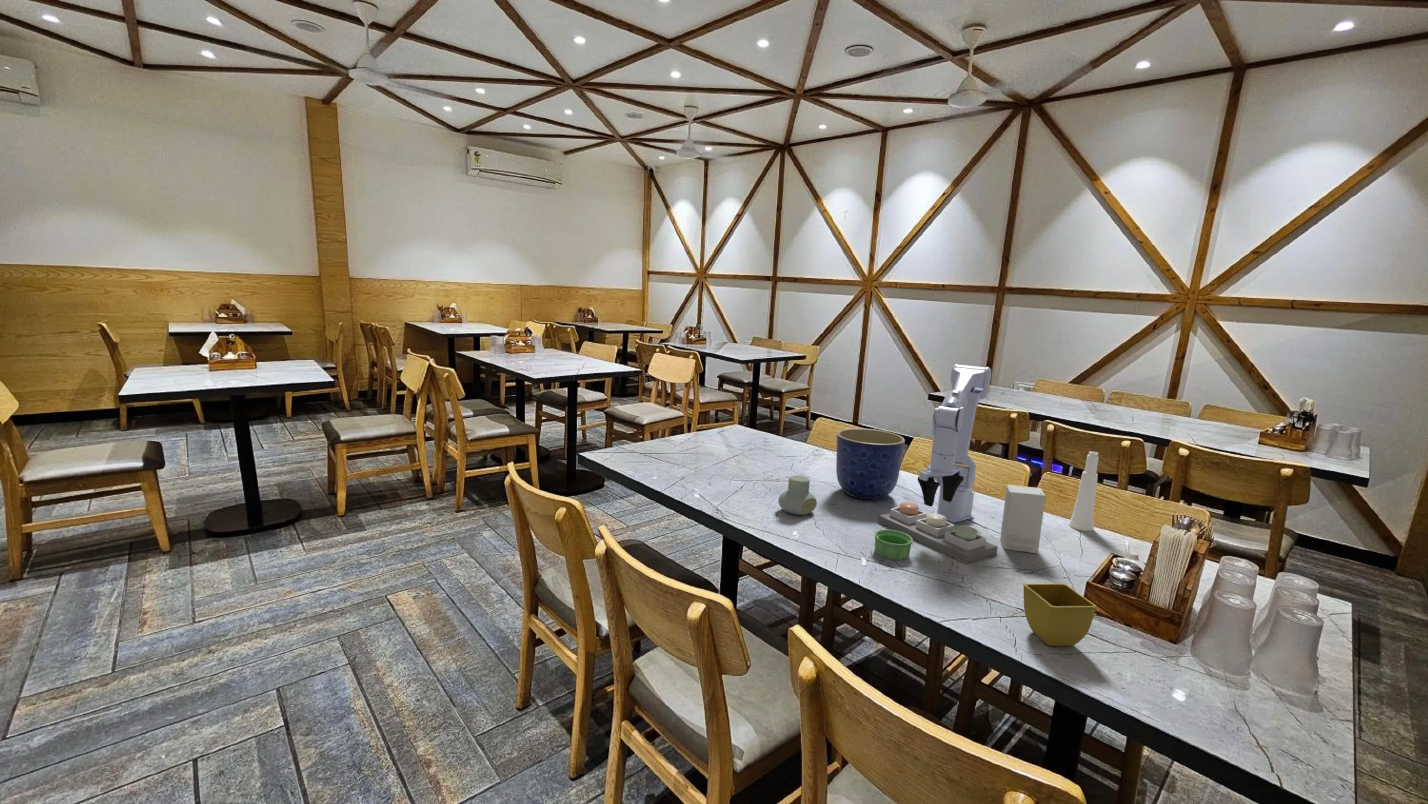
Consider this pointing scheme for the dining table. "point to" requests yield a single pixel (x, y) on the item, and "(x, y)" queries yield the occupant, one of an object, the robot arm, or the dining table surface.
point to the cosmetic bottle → (1086, 496)
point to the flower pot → (1057, 613)
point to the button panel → (938, 536)
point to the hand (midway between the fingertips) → (937, 503)
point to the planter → (868, 462)
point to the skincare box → (1022, 518)
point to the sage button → (966, 533)
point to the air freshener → (797, 497)
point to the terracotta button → (908, 509)
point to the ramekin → (892, 544)
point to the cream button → (936, 520)
